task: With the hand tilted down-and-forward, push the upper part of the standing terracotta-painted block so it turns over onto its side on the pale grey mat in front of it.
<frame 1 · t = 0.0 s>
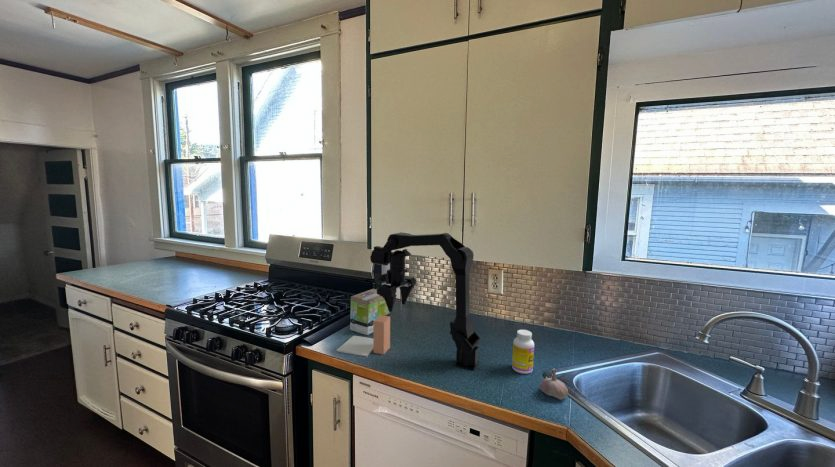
hand: (397, 307, 129), 15 cm above the counter, tool pointing down, fingers open, 9 cm apart
garlic bulb: (553, 395, 101), on the counter
tea box: (370, 327, 147), on the counter
supplement bottle: (522, 369, 114), on the counter
mat: (359, 346, 129), on the counter
block: (381, 349, 126), on the counter
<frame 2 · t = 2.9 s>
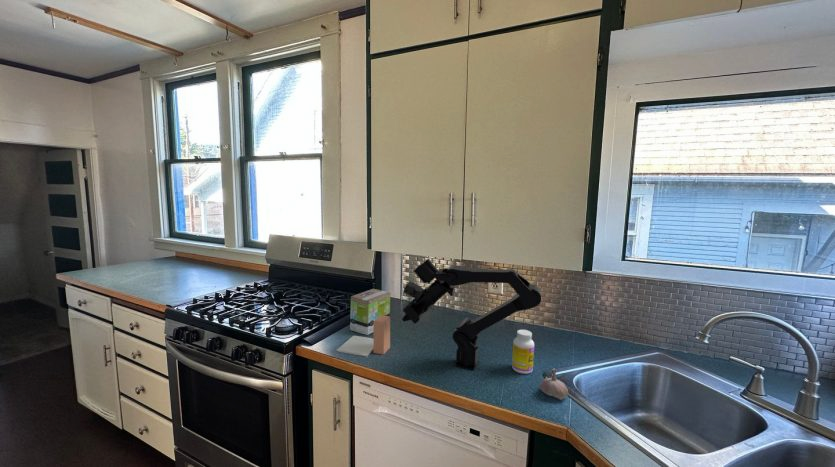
hand: (403, 320, 122), 12 cm above the counter, tool tilted 45°, fingers closed
nothing on the counter moved.
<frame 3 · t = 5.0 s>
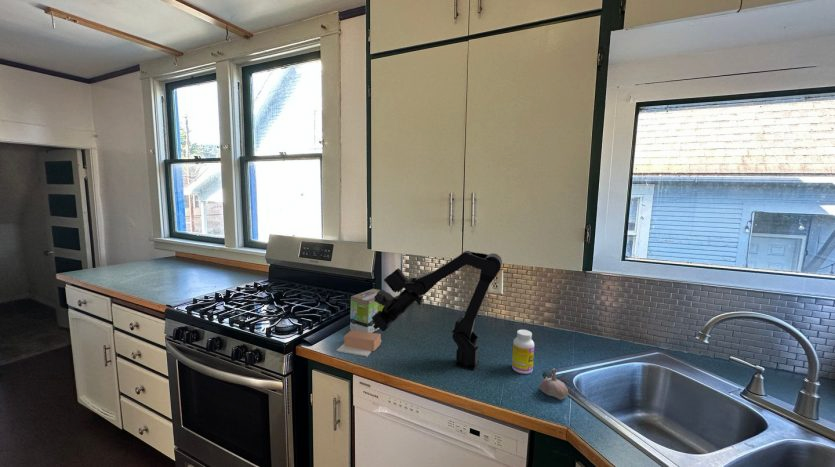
hand: (374, 327, 126), 8 cm above the counter, tool tilted 45°, fingers closed
block: (377, 342, 127), point 3 cm above the counter, tilted 90°, touching mat
everything else where it was.
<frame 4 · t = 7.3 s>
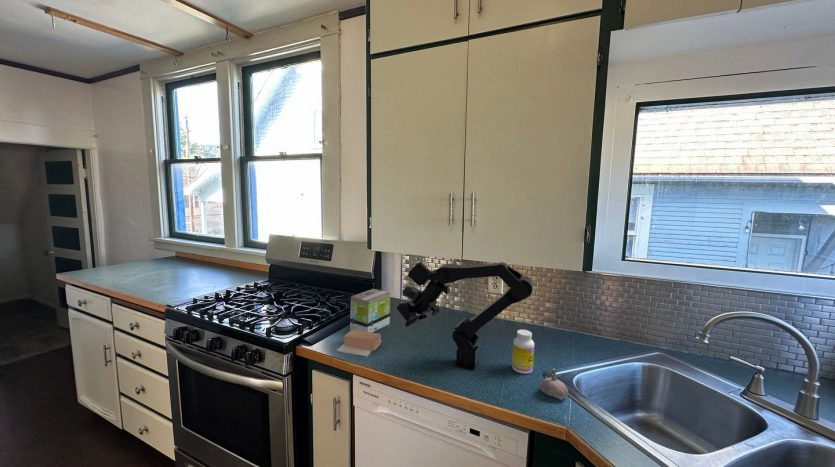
hand: (406, 326, 124), 10 cm above the counter, tool tilted 35°, fingers closed
nothing on the counter moved.
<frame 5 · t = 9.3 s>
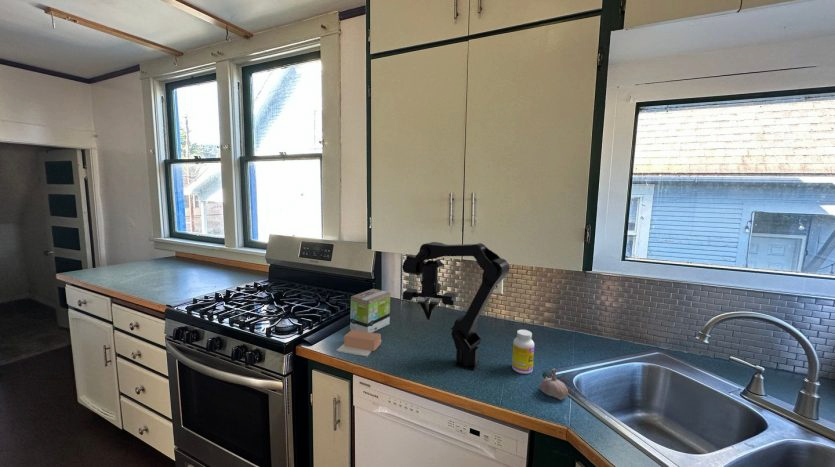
hand: (428, 319, 125), 12 cm above the counter, tool pointing down, fingers closed
nothing on the counter moved.
at the end: block tilted 90°; block inside the target area (6.4 cm from its centre), point 2.6 cm above the counter; the gripper is holding nothing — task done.
